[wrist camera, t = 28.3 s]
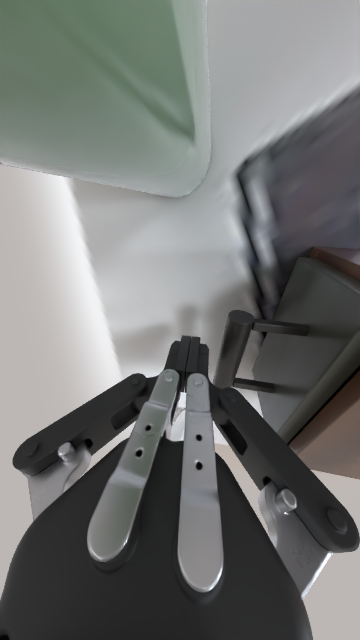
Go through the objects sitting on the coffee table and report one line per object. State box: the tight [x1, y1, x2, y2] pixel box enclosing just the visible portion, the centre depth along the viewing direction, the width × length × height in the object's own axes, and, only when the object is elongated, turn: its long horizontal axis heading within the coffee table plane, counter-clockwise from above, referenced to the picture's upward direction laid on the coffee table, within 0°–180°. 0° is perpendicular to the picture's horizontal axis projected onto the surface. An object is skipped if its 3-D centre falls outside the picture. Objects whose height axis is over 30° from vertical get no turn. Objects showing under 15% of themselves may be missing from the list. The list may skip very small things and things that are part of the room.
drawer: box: [213, 257, 360, 444], centre depth 12 cm, size 18×13×7 cm
